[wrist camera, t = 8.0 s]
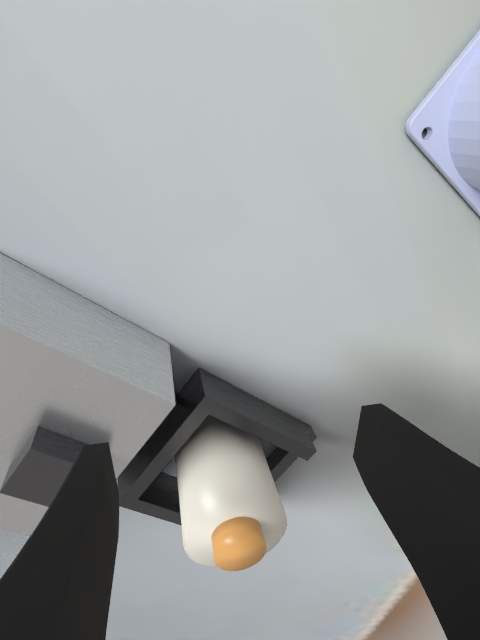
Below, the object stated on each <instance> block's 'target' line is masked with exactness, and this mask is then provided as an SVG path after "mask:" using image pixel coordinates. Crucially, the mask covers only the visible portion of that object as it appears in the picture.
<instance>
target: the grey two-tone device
mask: <svg viewBox="0 0 480 640" xmlns="http://www.w3.org/2000/svg"><path fill="white" fill-rule="evenodd" d="M208 415H211V416H213V417H216V418H218V419H220V420H222V421H224V422H226V423H228V424H230V425H233V426H235V427H237V428H239V429H241V430H243V431H245V432H248V433H250V434H252V435H254V436H256V437H258V438H260V439H262V440H265V441H267V442H269V443H271V444H273V445H275V446H277V447H278V448H277V449H276V450H275V451H274V452H273V453H272V454H271V455H270V456H269V458H268V459H267V460H266V461H267V463H268V466H269V469H270V472H271V475H272V478H273V480H274V482H275V481H276V480H277V479H278V478H279V477H280V475H281V474H282V473H283V472H284V471H285V470H286V469H287V468H288V467H289V466H290V465H291V464H292V463H293V462H294V461H295V460H296V459H297V458H298V457H301V458H303V459H305V460H307V461H308V460H309V459H310V458H311V457H312V455H313V454H314V453H315V452H316V449H315V447H314V445H313V443H312V442H313V441H314V440H315V439H316V438H317V437H316V435H315V434H314V432H313V430H312V428H311V426H309V425H307V424H305V423H303V422H302V421H300V420H298V419H296V418H294V417H292V416H290V415H288V414H286V413H284V412H282V411H281V410H279V409H277V408H275V407H273V406H271V405H269V404H267V403H265V402H263V401H261V400H259V399H258V398H256V397H254V396H252V395H250V394H248V393H246V392H244V391H242V390H240V389H238V388H237V387H235V386H233V385H231V384H229V383H227V382H225V381H223V380H221V379H219V378H217V377H216V376H214V375H212V374H210V373H208V372H206V371H204V370H202V369H200V368H199V369H198V370H197V371H196V372H195V374H194V375H193V376H192V377H191V379H190V380H189V381H188V383H187V384H186V385H185V386H184V388H183V389H182V390H181V391H180V393H179V394H178V395H176V394H174V384H173V375H172V365H171V356H170V347H169V343H168V342H166V341H164V340H162V339H160V338H159V337H157V336H155V335H153V334H151V333H149V332H147V331H146V330H144V329H142V328H140V327H138V326H136V325H134V324H132V323H131V322H129V321H127V320H125V319H123V318H121V317H119V316H117V315H116V314H114V313H112V312H110V311H108V310H106V309H104V308H103V307H101V306H99V305H97V304H95V303H93V302H91V301H89V300H88V299H86V298H84V297H82V296H80V295H78V294H76V293H74V292H73V291H71V290H69V289H67V288H65V287H63V286H61V285H59V284H58V283H56V282H54V281H52V280H50V279H48V278H46V277H45V276H43V275H41V274H39V273H37V272H35V271H33V270H31V269H30V268H28V267H26V266H24V265H22V264H20V263H18V262H16V261H15V260H13V259H11V258H9V257H7V256H5V255H3V254H2V253H0V528H1V529H5V530H9V531H13V532H17V533H21V534H25V535H29V536H31V534H32V533H33V531H34V530H35V528H36V527H37V525H38V524H39V522H40V521H41V519H42V517H43V516H44V514H45V513H46V511H47V509H48V508H49V506H50V504H51V503H52V501H53V499H54V498H55V496H56V494H57V493H58V491H59V489H60V487H61V486H62V484H63V482H64V480H65V478H66V477H67V475H68V473H69V471H70V469H71V467H72V465H73V463H74V462H75V460H76V458H77V456H78V454H79V451H80V449H81V448H82V447H83V446H84V445H91V444H98V443H105V442H109V447H110V452H111V457H112V462H113V467H114V472H115V477H116V479H117V478H118V492H119V506H121V507H124V508H128V509H131V510H134V511H137V512H140V513H144V514H147V515H150V516H153V517H156V518H160V519H163V520H166V521H169V522H173V523H176V524H179V525H182V524H181V514H180V503H179V492H178V482H177V478H175V477H172V476H169V475H167V474H164V473H161V471H162V470H163V469H164V467H165V466H166V465H167V464H168V463H169V461H170V460H171V459H172V458H173V457H174V455H175V454H176V453H177V452H178V451H179V449H180V448H181V447H182V446H183V445H184V443H185V442H186V441H187V440H188V439H189V437H190V436H191V435H192V434H193V433H194V431H195V430H196V429H197V428H198V427H199V425H200V424H201V423H202V422H203V421H204V420H205V418H206V417H207V416H208Z"/></svg>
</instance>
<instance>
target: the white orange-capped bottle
mask: <svg viewBox="0 0 480 640" xmlns="http://www.w3.org/2000/svg"><path fill="white" fill-rule="evenodd" d="M175 460H176V471H177V482H178V492H179V503H180V514H181V524H182V535H183V545H184V549H185V552H186V553H187V555H188V556H189V557H190V558H191V559H192V560H194V561H195V562H197V563H199V564H202V565H204V566H209V567H219V568H221V569H223V570H227V571H238V570H243V569H246V568H249V567H251V566H253V565H255V564H256V563H258V562H259V561H260V560H261V559H262V558H263V556H264V555H265V554H266V553H267V552H268V551H270V550H271V549H272V548H273V547H274V546H275V545H276V544H277V543H278V542H279V541H280V539H281V538H282V536H283V535H284V533H285V530H286V526H287V518H286V514H285V512H284V509H283V506H282V503H281V500H280V497H279V495H278V492H277V489H276V486H275V483H274V480H273V478H272V475H271V472H270V469H269V466H268V463H267V461H266V458H265V455H264V452H263V449H262V446H261V444H260V441H259V438H258V437H256V436H254V435H252V434H250V433H248V432H245V431H243V430H241V429H239V428H237V427H235V426H233V425H230V424H228V423H226V422H224V421H222V420H220V419H218V418H216V417H213V416H211V415H208V416H207V417H206V418H205V420H204V421H203V422H202V423H201V424H200V425H199V427H198V428H197V429H196V430H195V431H194V433H193V434H192V435H191V436H190V437H189V439H188V440H187V441H186V442H185V443H184V445H183V446H182V447H181V448H180V449H179V451H178V452H177V453H176V454H175Z"/></svg>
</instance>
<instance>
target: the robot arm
mask: <svg viewBox="0 0 480 640" xmlns="http://www.w3.org/2000/svg"><path fill="white" fill-rule="evenodd" d="M424 128H426V129H427V134H426V136H425V137H424V138H422V131H423V129H424ZM406 133H407V134H408V136H409V137H410V138H411V139H412V140H413V142H414V143H415V144H416V145H417V146H418V147H419V148H420V149H421V151H422V152H423V153H424V154H425V155H426V156H427V157H428V159H429V160H430V161H431V162H432V163H433V164H434V165H435V167H436V168H437V169H438V170H439V171H440V172H441V173H442V174H443V176H444V177H445V178H446V179H447V180H448V181H449V182H450V184H451V185H452V186H453V187H454V188H455V189H456V190H457V191H458V193H459V194H460V195H461V196H462V197H463V198H464V199H465V201H466V202H467V203H468V204H469V205H470V206H471V207H472V208H473V210H474V211H475V212H476V213H477V214H478V215H479V216H480V30H479V31H478V33H477V34H476V35H475V36H474V38H473V39H472V40H471V41H470V43H469V44H468V45H467V46H466V47H465V49H464V50H463V51H462V52H461V54H460V55H459V56H458V57H457V59H456V60H455V61H454V62H453V64H452V65H451V66H450V67H449V69H448V70H447V71H446V72H445V74H444V75H443V76H442V77H441V79H440V80H439V81H438V82H437V84H436V85H435V86H434V87H433V89H432V90H431V91H430V92H429V94H428V95H427V96H426V97H425V99H424V100H423V101H422V102H421V104H420V105H419V106H418V107H417V109H416V110H415V111H414V112H413V113H412V115H411V116H410V117H409V119H408V121H407V123H406ZM353 459H354V461H355V463H356V466H357V468H358V471H359V473H360V475H361V477H362V480H363V482H364V484H365V486H366V488H367V490H368V492H369V494H370V496H371V498H372V499H373V501H374V503H375V504H376V506H377V508H378V510H379V511H380V513H381V515H382V516H383V518H384V520H385V521H386V523H387V525H388V526H389V528H390V530H391V531H392V533H393V535H394V536H395V538H396V540H397V541H398V543H399V545H400V547H401V548H402V550H403V552H404V553H405V555H406V557H407V558H408V560H409V562H410V563H411V565H412V567H413V569H414V571H415V572H416V574H417V576H418V578H419V580H420V582H421V584H422V586H423V588H424V590H425V592H426V594H427V596H428V598H429V600H430V603H431V605H432V607H433V609H434V611H435V613H436V615H437V617H438V619H439V621H440V624H441V626H442V628H443V630H444V632H445V634H446V637H447V639H448V640H480V468H479V467H477V466H476V465H474V464H472V463H471V462H469V461H467V460H466V459H464V458H463V457H461V456H459V455H458V454H456V453H455V452H453V451H452V450H450V449H448V448H447V447H445V446H444V445H442V444H441V443H439V442H438V441H436V440H435V439H433V438H432V437H430V436H429V435H427V434H426V433H424V432H423V431H421V430H420V429H419V428H417V427H416V426H414V425H413V424H411V423H410V422H408V421H407V420H405V419H404V418H402V417H401V416H399V415H398V414H396V413H395V412H393V411H392V410H390V409H389V408H387V407H386V406H384V405H383V404H374V405H367V406H362V408H361V414H360V420H359V425H358V431H357V437H356V443H355V448H354V454H353ZM118 532H119V492H118V487H117V482H116V477H115V472H114V467H113V462H112V457H111V452H110V447H109V442H105V443H98V444H91V445H84V446H83V447H82V448H81V449H80V451H79V454H78V456H77V458H76V460H75V462H74V463H73V465H72V467H71V469H70V471H69V473H68V475H67V477H66V478H65V480H64V482H63V484H62V486H61V487H60V489H59V491H58V493H57V494H56V496H55V498H54V499H53V501H52V503H51V504H50V506H49V508H48V509H47V511H46V513H45V514H44V516H43V517H42V519H41V521H40V522H39V524H38V525H37V527H36V528H35V530H34V531H33V533H32V534H31V536H30V537H29V539H28V540H27V542H26V543H25V545H24V546H23V548H22V549H21V551H20V552H19V554H18V555H17V557H16V558H15V560H14V561H13V562H12V564H11V565H10V567H9V568H8V569H7V571H6V572H5V574H4V575H3V576H2V578H1V579H0V640H105V637H106V628H107V620H108V612H109V605H110V597H111V589H112V582H113V574H114V566H115V558H116V551H117V543H118Z"/></svg>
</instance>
